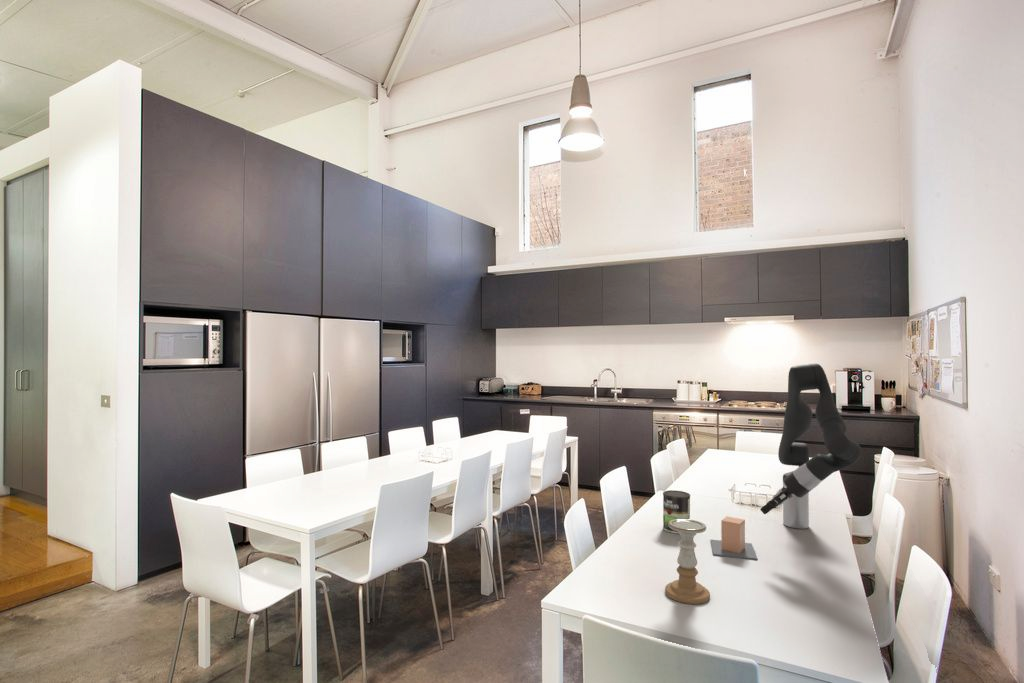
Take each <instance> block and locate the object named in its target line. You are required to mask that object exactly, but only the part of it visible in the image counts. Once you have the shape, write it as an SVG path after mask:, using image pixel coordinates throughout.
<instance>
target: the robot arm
mask: <svg viewBox="0 0 1024 683" xmlns="http://www.w3.org/2000/svg"><path fill="white" fill-rule="evenodd" d="M787 381H788V382H787V399H786V404H785V405H786V406H785V411H784V419H783V425H782V426H783V427H782V435H781V438H780V443H779V446H778V460H779V463H780V464H782V465H785V466H792V467H794V466H795V467H797V468H796V469H795V470H792V471H789V472H786V473H784V474H783V475H782V487H781V488H780V489H779V490H777V492H776V493H775V494H774V495H772V499H770V500H768V502H767V503H766V504H765V505H763V506H762V507H761V508H760V509H759V510H760V511H761V513H762V514H763V515H767V514H768V513H770V512H771V511H772V510H774V509H776V508H777V507H779V506H782V524H783V525H784V526H786V527H788V528H793V529H800V530H801V529H808V528H809V527H810V526H809V525H810V524H809V523H810V519H809V518H810V516H809V515H810V512H809V511H810V508H809V507H810V505H809V504H810V503H809V501H810V500H809V499H810V498H809V495H810V494H809V493H810V492H811V491H812V490H814V489H815V488H816V487H817V486H819V485H820V483H822V482H823V481H825V479H827V478H829V476H831V475H832V474H833V473H836V472H838V471H841V470H843V469H846V468H848V467H851V466H852V465H854V464H855V463H856V462H858V461H859V459H860V458H861V456H862V453H863V450H862V447H861V446H860V444H859V443H857V442H856V441H854V440H852V439H850V438H849V437H847V435H846V432H847V426H846V423H845V422H844V419H843V417H842V415H841V414H840V412H839V410H838V408H837V405H836V403H835V399H834V396H833V393H832V389H831V386H830V383H829V381H828V377H827V375H826V372H825V370H824V368H823V367H822V366H821V365H820V364H819V363H806V364H798V365H797V364H796V365H793V366H791V367H790V368H789V371H788V375H787ZM810 390H811V391H812V390H818V392H819V398H818V401H817V404H816V407H815V413H814V414H815V418H816V420H817V423H818V425H819V427H820V429H821V431H822V438H823V441H824V442H823V443H824V446H825V448H826V450H827V451H828V452H829V453H828V454H822V453H818V454H815V455H814V456H813V457H812V458H810V450H809V449H810V448H809V445H808V443H804V442H795V441H797V440H799V438H801V437H802V436H804V435H805V434H806V433H807V432H808V431H809V430H810V428H811V425H812V422H813V410H812V409H811V407H810V405H809V404H808V403H807V402H806V401H805V400H804V399H803V397H802V396H801V392H802V391H803V392H804V391H810Z"/></svg>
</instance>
